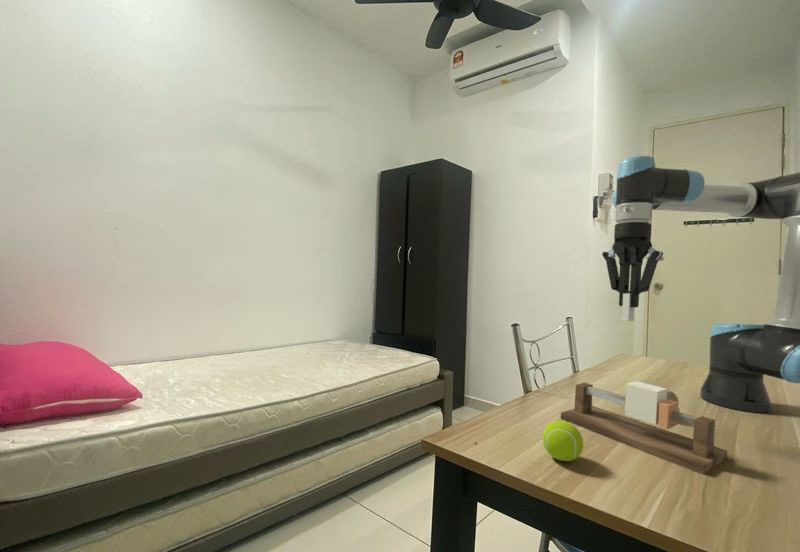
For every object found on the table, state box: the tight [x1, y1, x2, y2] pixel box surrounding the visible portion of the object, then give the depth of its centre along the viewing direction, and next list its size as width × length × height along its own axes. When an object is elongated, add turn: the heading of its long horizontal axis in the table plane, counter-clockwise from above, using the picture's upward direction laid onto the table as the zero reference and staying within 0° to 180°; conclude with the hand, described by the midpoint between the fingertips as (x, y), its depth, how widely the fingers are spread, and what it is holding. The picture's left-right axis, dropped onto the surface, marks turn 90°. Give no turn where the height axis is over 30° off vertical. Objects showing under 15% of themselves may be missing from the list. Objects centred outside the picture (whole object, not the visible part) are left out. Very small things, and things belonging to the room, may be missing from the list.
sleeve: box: [624, 380, 668, 426], centre depth 80 cm, size 5×6×7 cm
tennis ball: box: [542, 419, 584, 462], centre depth 70 cm, size 7×7×7 cm
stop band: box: [657, 400, 679, 430], centre depth 76 cm, size 5×2×5 cm, turn 124°
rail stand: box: [560, 382, 728, 475], centre depth 81 cm, size 12×28×8 cm, turn 33°
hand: (627, 320), depth 90 cm, fingers closed
